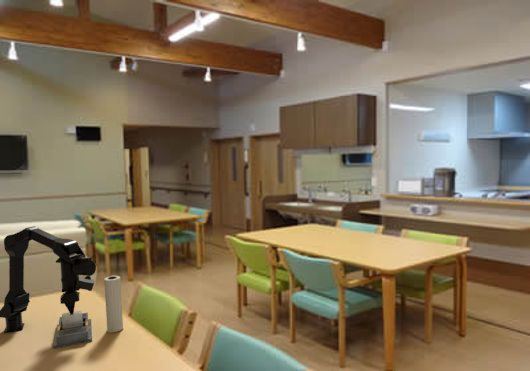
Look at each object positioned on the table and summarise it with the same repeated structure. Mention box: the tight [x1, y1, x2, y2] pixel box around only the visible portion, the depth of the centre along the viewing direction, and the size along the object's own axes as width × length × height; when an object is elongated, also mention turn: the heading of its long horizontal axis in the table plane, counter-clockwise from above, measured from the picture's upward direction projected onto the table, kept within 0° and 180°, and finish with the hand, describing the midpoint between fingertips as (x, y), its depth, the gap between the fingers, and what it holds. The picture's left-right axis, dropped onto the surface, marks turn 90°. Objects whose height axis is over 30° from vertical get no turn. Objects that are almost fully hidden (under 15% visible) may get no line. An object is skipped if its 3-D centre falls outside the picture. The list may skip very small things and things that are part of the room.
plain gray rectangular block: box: [61, 310, 83, 330], centre depth 158 cm, size 3×7×8 cm, turn 114°
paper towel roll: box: [103, 274, 124, 333], centre depth 163 cm, size 7×6×21 cm
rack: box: [52, 312, 93, 349], centre depth 160 cm, size 21×13×4 cm, turn 24°
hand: (72, 313), depth 157 cm, fingers closed, pressing on plain gray rectangular block
